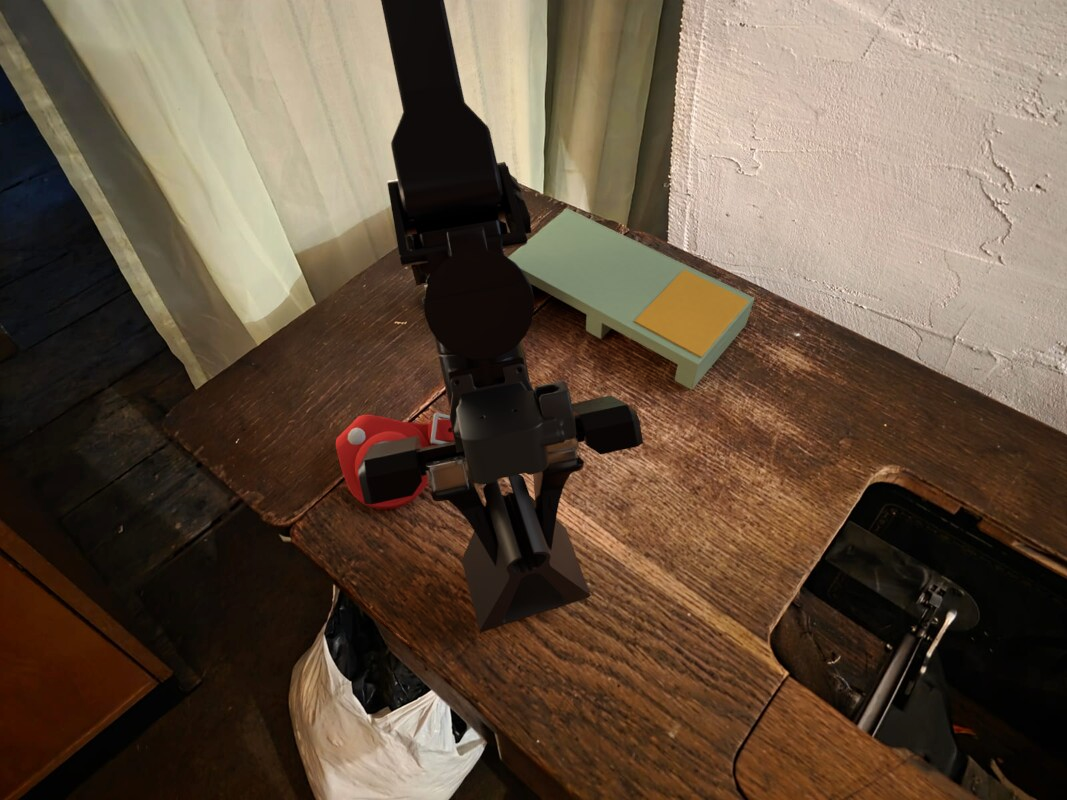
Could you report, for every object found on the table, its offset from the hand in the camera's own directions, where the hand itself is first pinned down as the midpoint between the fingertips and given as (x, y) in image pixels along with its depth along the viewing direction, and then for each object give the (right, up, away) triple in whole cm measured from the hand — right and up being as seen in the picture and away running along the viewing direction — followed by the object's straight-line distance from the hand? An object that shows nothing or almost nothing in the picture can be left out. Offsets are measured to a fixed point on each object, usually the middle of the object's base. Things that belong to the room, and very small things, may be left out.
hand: (523, 561), depth 48 cm
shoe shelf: (+11, +22, +26) cm, 35 cm away
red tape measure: (-11, +5, +15) cm, 19 cm away
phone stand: (0, -3, +6) cm, 7 cm away
